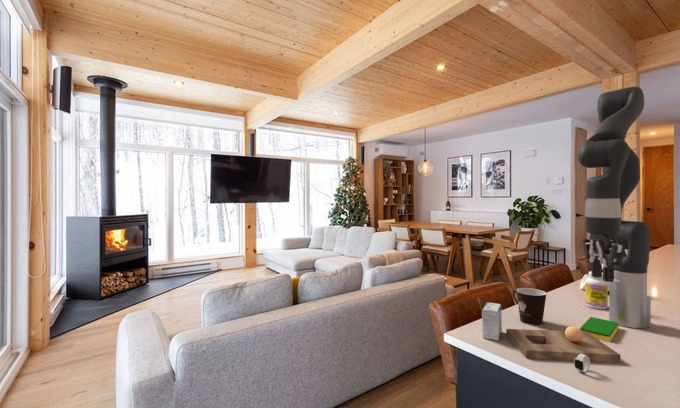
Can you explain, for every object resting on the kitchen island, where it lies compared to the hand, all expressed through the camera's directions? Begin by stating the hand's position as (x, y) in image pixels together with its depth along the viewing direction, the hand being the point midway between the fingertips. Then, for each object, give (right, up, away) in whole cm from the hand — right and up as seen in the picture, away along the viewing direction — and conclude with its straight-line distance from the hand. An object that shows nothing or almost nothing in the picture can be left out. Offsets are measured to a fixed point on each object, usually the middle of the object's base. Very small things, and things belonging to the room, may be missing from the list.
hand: (602, 278), depth 88 cm
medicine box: (-25, -20, +11) cm, 33 cm away
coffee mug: (-7, -19, +22) cm, 30 cm away
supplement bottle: (+25, -18, +34) cm, 46 cm away
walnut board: (-11, -19, +2) cm, 22 cm away
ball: (-7, -15, +1) cm, 17 cm away
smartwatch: (-13, -20, -10) cm, 26 cm away
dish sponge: (+9, -20, +12) cm, 25 cm away
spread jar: (+41, -18, +54) cm, 70 cm away
